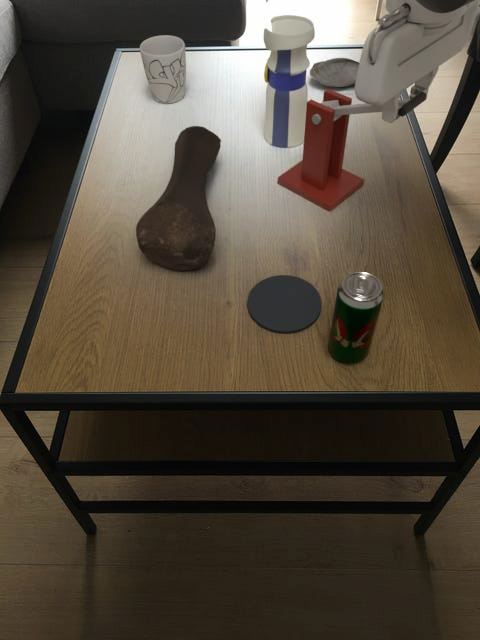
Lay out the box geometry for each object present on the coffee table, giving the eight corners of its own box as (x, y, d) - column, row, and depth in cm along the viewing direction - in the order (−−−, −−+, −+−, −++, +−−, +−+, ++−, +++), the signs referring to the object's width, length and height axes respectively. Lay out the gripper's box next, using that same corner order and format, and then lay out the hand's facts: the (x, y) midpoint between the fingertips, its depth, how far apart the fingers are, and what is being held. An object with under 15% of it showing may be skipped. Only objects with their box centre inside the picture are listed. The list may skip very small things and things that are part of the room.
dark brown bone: (193, 290, 78) (211, 188, 98) (225, 238, 71) (238, 140, 91) (121, 260, 75) (156, 161, 95) (148, 203, 68) (179, 110, 88)
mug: (157, 77, 113) (149, 27, 105) (196, 79, 112) (191, 29, 105) (143, 106, 106) (134, 54, 98) (185, 108, 105) (179, 56, 97)
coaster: (324, 282, 75) (325, 279, 75) (317, 339, 69) (317, 336, 69) (254, 273, 77) (254, 270, 76) (240, 328, 71) (240, 325, 70)
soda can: (371, 339, 69) (389, 274, 60) (363, 370, 66) (381, 307, 57) (332, 329, 70) (344, 264, 61) (323, 360, 67) (334, 296, 58)
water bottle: (255, 145, 97) (254, -8, 77) (269, 120, 102) (271, -30, 82) (299, 153, 95) (310, -2, 75) (311, 127, 100) (324, -25, 80)
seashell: (366, 73, 112) (370, 48, 108) (368, 93, 107) (372, 68, 103) (308, 71, 113) (310, 47, 109) (308, 92, 108) (310, 67, 104)
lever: (428, 105, 70) (425, 86, 69) (407, 121, 68) (404, 102, 67) (333, 113, 82) (329, 97, 81) (312, 127, 80) (308, 111, 78)
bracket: (363, 185, 89) (379, 100, 77) (330, 211, 85) (341, 126, 73) (311, 159, 94) (318, 76, 82) (277, 183, 90) (280, 99, 78)
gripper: (400, 30, 54) (379, 152, 64) (498, -28, 63) (465, 87, 73) (349, 15, 56) (336, 134, 67) (449, -39, 66) (424, 73, 76)
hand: (404, 109), depth 70 cm, fingers closed on lever, 5 cm apart
